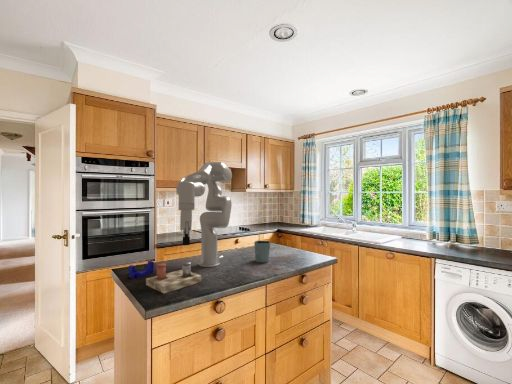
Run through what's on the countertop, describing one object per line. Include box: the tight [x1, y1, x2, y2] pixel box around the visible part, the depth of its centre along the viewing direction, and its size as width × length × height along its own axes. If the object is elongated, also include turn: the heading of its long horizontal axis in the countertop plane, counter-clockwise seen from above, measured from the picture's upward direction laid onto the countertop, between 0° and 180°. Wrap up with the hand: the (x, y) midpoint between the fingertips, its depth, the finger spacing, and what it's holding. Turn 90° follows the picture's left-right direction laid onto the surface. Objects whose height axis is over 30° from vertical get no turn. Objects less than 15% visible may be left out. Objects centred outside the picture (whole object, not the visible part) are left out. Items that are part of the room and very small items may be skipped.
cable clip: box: [128, 260, 155, 280], centre depth 142 cm, size 12×4×6 cm, turn 141°
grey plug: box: [181, 260, 193, 277], centre depth 131 cm, size 5×5×6 cm
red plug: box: [155, 262, 167, 279], centre depth 128 cm, size 5×5×6 cm
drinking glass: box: [253, 240, 271, 264], centre depth 171 cm, size 10×10×12 cm
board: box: [145, 269, 202, 294], centre depth 130 cm, size 20×16×3 cm
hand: (186, 244), depth 131 cm, fingers closed
